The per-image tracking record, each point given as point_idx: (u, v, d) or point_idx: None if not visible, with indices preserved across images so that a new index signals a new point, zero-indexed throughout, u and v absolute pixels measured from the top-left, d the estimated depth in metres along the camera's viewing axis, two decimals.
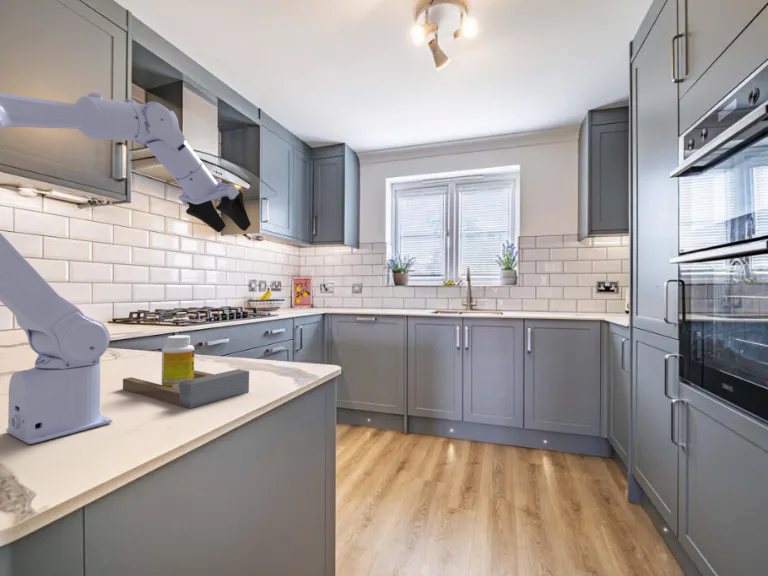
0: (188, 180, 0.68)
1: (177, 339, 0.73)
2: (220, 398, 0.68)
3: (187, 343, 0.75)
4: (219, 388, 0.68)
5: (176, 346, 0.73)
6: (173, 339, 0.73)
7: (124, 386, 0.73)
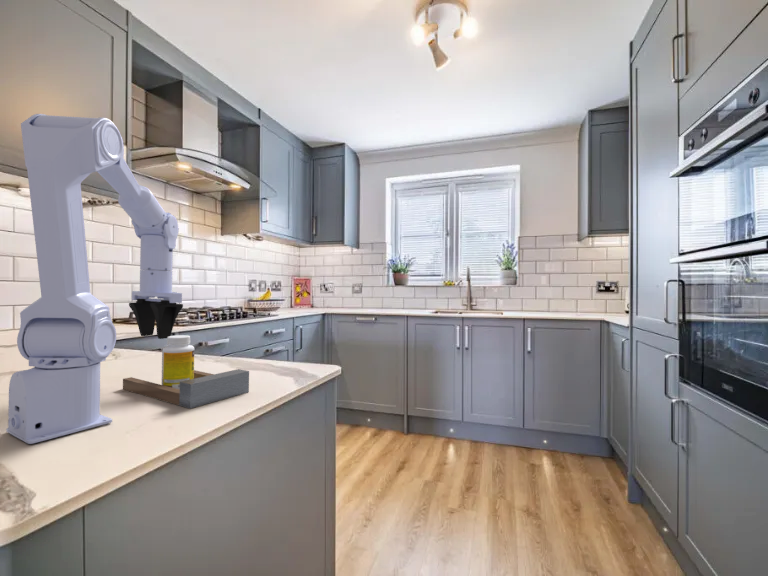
0: (149, 273, 0.76)
1: (177, 339, 0.73)
2: (220, 398, 0.68)
3: (187, 343, 0.75)
4: (219, 388, 0.68)
5: (176, 346, 0.73)
6: (173, 339, 0.73)
7: (124, 386, 0.73)
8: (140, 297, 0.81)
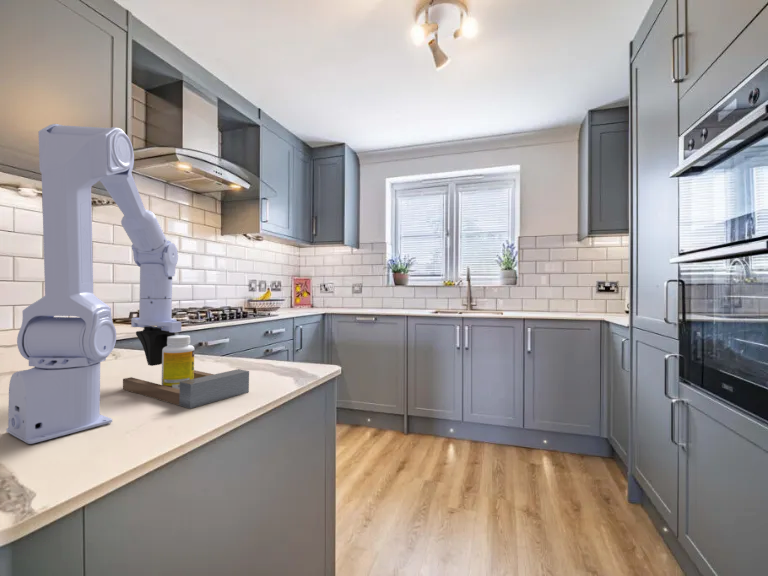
0: (148, 302, 0.76)
1: (177, 339, 0.73)
2: (220, 398, 0.68)
3: (187, 343, 0.75)
4: (219, 388, 0.68)
5: (176, 346, 0.73)
6: (173, 339, 0.73)
7: (124, 386, 0.73)
8: None
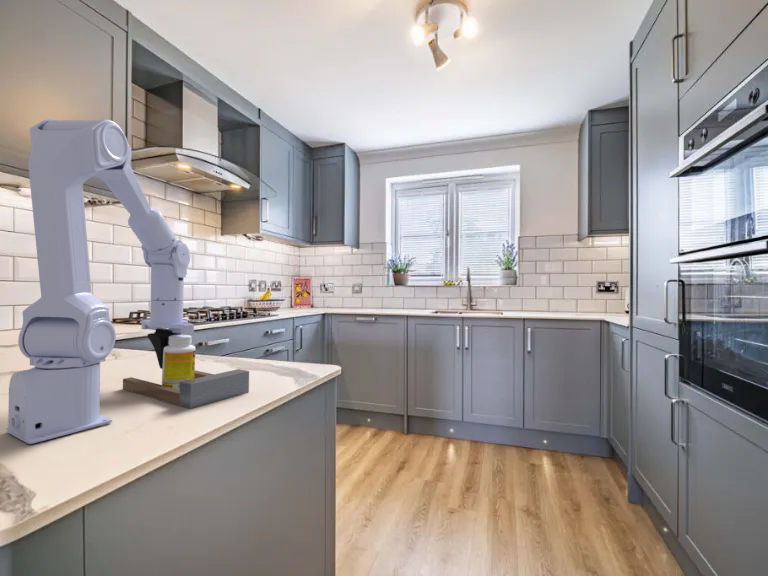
0: (160, 304, 0.74)
1: (178, 339, 0.73)
2: (220, 398, 0.68)
3: (188, 343, 0.74)
4: (219, 388, 0.68)
5: (177, 346, 0.73)
6: (174, 339, 0.73)
7: (124, 386, 0.73)
8: (150, 326, 0.79)
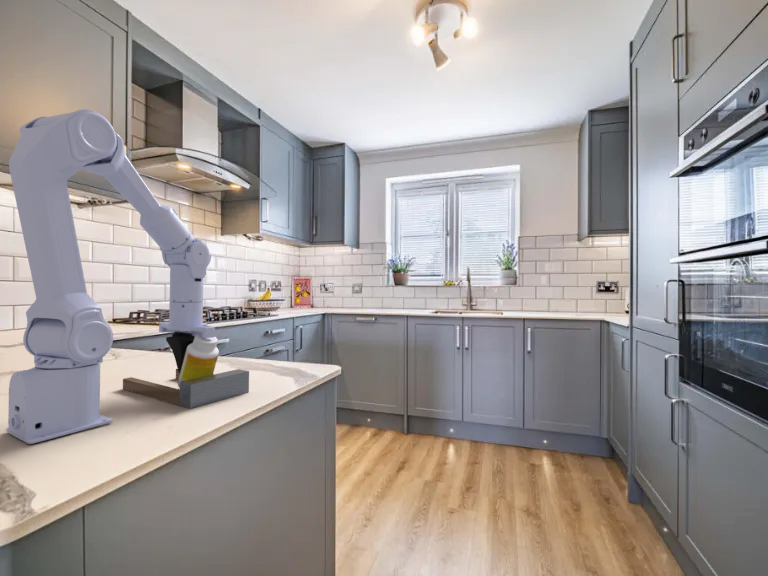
0: (180, 306, 0.71)
1: (204, 344, 0.69)
2: (220, 398, 0.68)
3: (213, 348, 0.71)
4: (219, 388, 0.68)
5: (202, 350, 0.70)
6: (200, 343, 0.69)
7: (124, 386, 0.73)
8: None
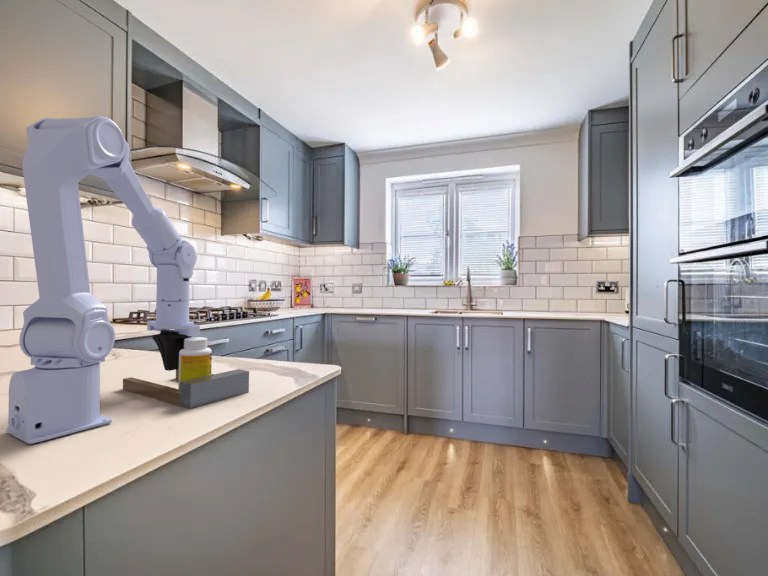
0: (166, 305, 0.73)
1: (195, 341, 0.71)
2: (220, 398, 0.68)
3: (205, 346, 0.72)
4: (219, 388, 0.68)
5: (194, 349, 0.71)
6: (190, 341, 0.71)
7: (124, 386, 0.73)
8: (156, 327, 0.78)
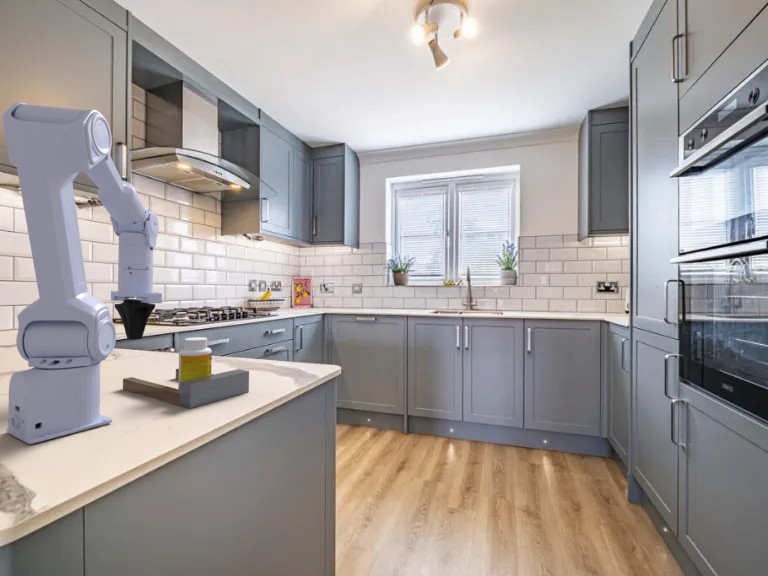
0: (127, 272, 0.72)
1: (195, 341, 0.71)
2: (220, 398, 0.68)
3: (204, 345, 0.72)
4: (219, 388, 0.68)
5: (193, 349, 0.71)
6: (190, 341, 0.71)
7: (124, 386, 0.73)
8: (119, 297, 0.78)
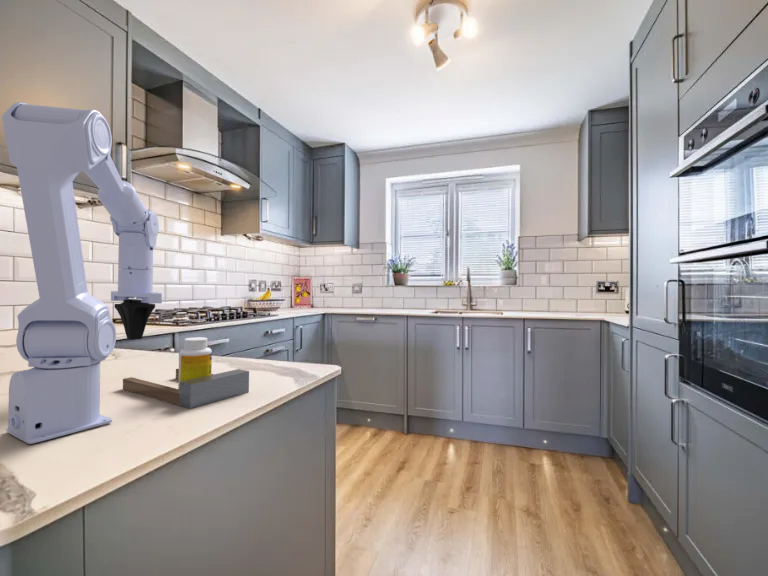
0: (127, 272, 0.72)
1: (195, 341, 0.71)
2: (220, 398, 0.68)
3: (205, 346, 0.72)
4: (219, 388, 0.68)
5: (194, 349, 0.71)
6: (190, 341, 0.71)
7: (124, 386, 0.73)
8: (119, 297, 0.78)
